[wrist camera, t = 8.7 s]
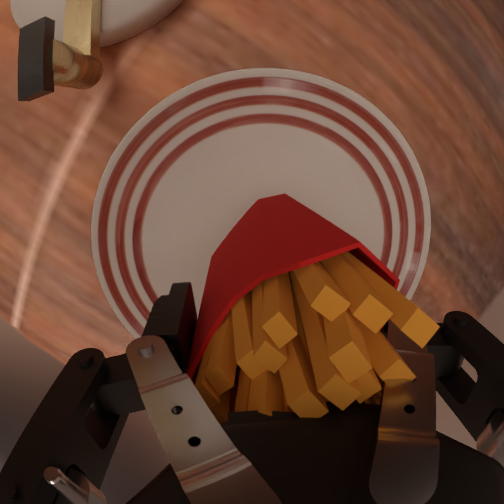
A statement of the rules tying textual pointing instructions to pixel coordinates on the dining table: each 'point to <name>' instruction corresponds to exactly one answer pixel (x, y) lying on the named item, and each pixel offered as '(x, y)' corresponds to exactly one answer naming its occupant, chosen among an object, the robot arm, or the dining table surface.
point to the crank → (60, 52)
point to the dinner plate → (251, 181)
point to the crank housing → (111, 16)
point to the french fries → (297, 317)
